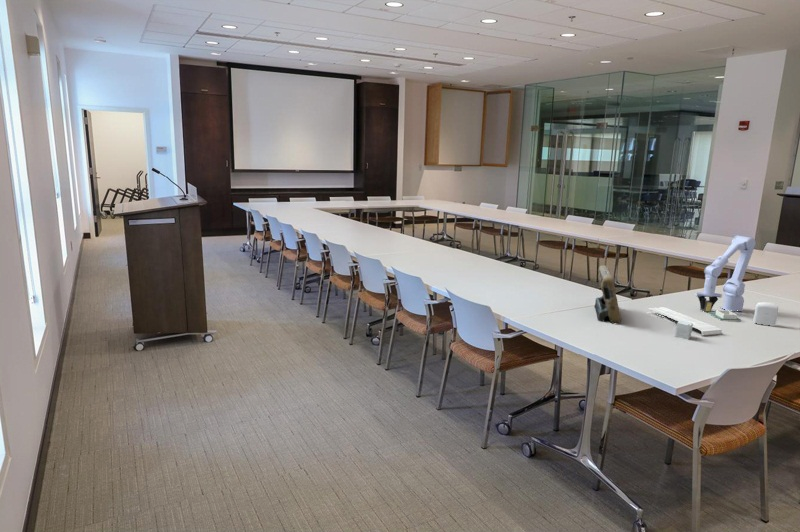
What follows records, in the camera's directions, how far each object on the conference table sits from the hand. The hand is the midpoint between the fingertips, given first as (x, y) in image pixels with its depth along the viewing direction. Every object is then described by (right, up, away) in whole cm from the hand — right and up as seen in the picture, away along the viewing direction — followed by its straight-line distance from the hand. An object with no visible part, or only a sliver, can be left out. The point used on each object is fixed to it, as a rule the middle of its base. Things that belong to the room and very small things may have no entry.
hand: (705, 308), depth 304 cm
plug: (0, -1, 0) cm, 1 cm away
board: (+4, -4, -10) cm, 12 cm away
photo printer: (+19, -7, -20) cm, 29 cm away
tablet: (-64, -2, -13) cm, 65 cm away
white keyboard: (-27, -6, -23) cm, 37 cm away
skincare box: (-38, -10, -45) cm, 60 cm away
